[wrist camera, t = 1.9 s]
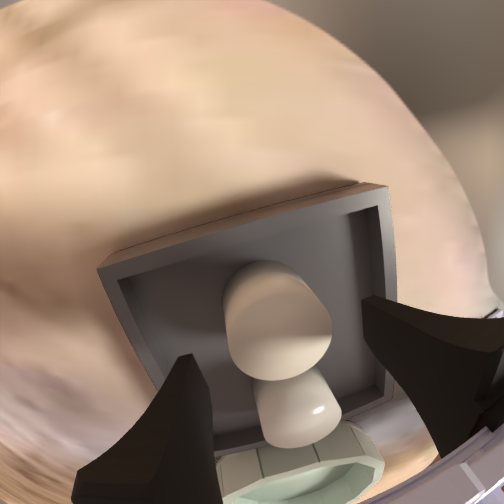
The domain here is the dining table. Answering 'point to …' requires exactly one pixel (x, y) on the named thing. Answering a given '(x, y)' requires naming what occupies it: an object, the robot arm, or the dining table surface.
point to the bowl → (303, 471)
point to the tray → (234, 258)
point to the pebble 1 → (274, 321)
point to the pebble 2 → (296, 409)
